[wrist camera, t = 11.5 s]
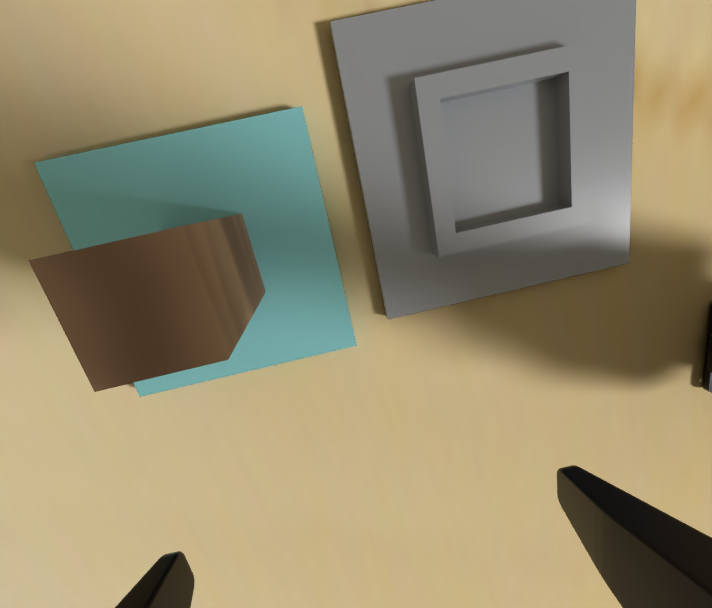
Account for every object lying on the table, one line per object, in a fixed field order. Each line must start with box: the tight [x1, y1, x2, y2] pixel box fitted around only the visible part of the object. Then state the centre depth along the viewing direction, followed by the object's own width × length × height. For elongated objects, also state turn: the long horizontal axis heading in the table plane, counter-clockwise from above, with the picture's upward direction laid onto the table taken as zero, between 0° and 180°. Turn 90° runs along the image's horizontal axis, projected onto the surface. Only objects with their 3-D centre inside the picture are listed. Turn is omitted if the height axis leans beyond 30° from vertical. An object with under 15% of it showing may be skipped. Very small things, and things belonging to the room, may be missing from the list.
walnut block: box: [29, 213, 266, 392], centre depth 14 cm, size 4×4×8 cm
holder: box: [330, 0, 636, 319], centre depth 18 cm, size 14×14×2 cm
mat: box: [34, 106, 357, 397], centre depth 18 cm, size 12×12×1 cm
